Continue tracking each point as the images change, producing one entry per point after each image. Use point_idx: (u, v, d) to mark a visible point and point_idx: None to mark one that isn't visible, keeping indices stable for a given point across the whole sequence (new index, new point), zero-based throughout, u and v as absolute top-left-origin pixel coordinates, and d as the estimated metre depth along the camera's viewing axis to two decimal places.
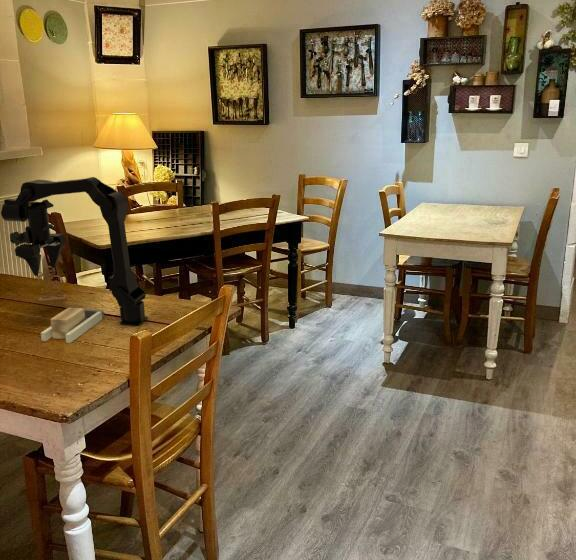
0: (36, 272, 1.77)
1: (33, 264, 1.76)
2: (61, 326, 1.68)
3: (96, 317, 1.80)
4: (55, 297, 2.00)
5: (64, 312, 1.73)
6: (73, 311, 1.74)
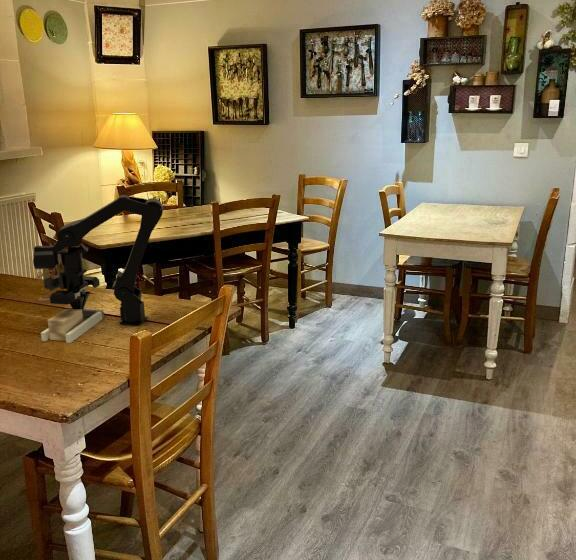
0: None
1: (76, 305, 1.75)
2: (58, 328, 1.66)
3: (96, 317, 1.80)
4: None
5: (61, 313, 1.72)
6: (71, 312, 1.73)
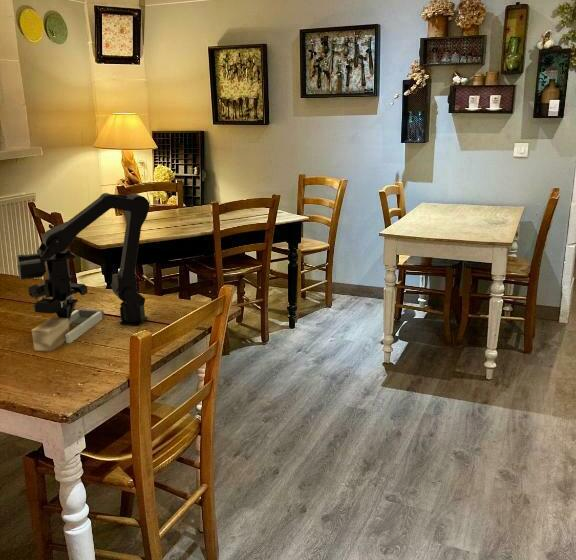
0: None
1: (62, 314, 1.68)
2: (43, 338, 1.59)
3: (96, 317, 1.80)
4: None
5: (47, 322, 1.65)
6: (57, 321, 1.66)
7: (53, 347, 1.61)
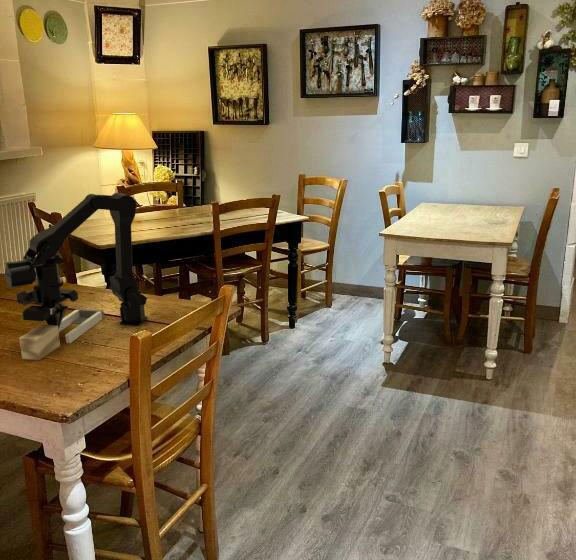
0: None
1: (51, 321, 1.63)
2: (30, 346, 1.54)
3: (96, 317, 1.80)
4: None
5: (35, 330, 1.59)
6: (45, 328, 1.60)
7: (41, 356, 1.56)
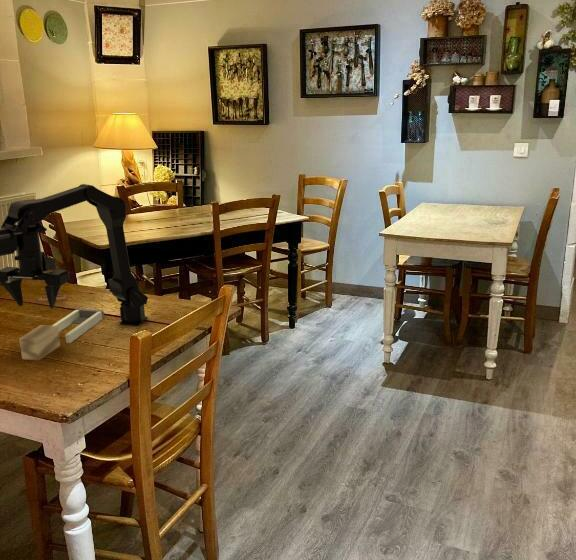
0: None
1: None
2: (30, 347, 1.54)
3: (96, 317, 1.80)
4: None
5: (35, 330, 1.59)
6: (45, 329, 1.60)
7: (41, 356, 1.56)
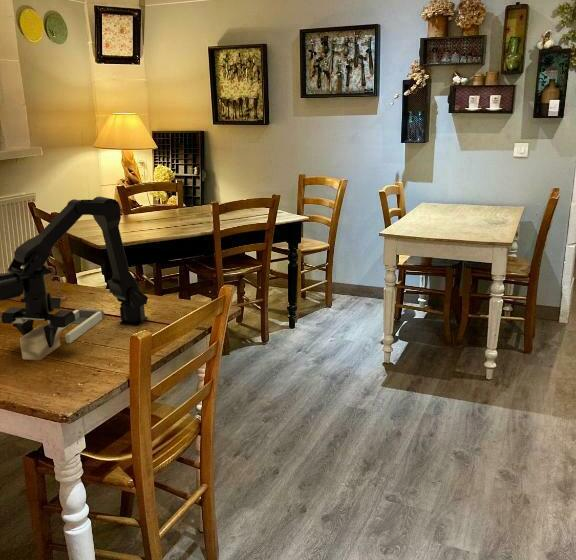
0: None
1: None
2: (31, 346, 1.54)
3: (96, 317, 1.80)
4: (55, 297, 2.00)
5: (35, 330, 1.59)
6: None
7: (42, 356, 1.56)
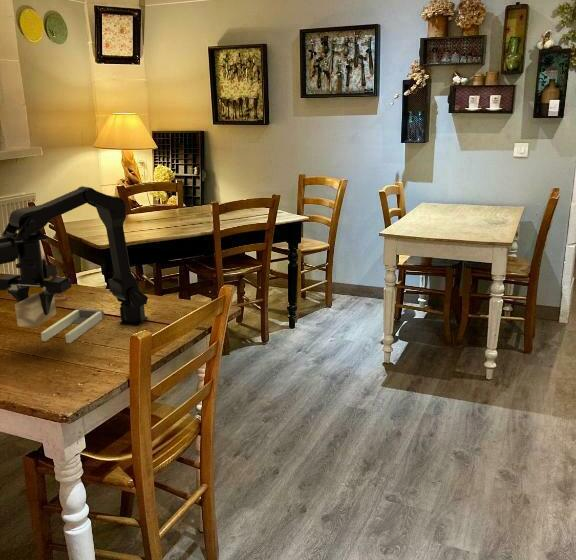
0: None
1: None
2: (26, 313, 1.51)
3: (96, 317, 1.80)
4: (55, 297, 2.00)
5: (31, 297, 1.56)
6: None
7: (38, 323, 1.53)
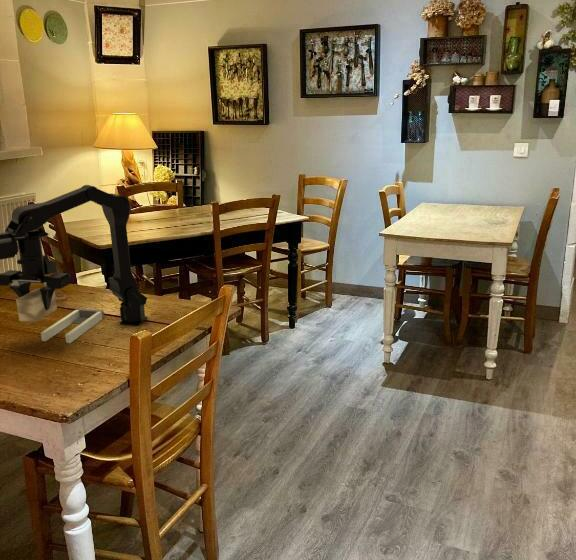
0: None
1: None
2: (27, 308, 1.55)
3: (96, 317, 1.80)
4: (55, 297, 2.00)
5: (32, 292, 1.60)
6: None
7: (39, 317, 1.57)
